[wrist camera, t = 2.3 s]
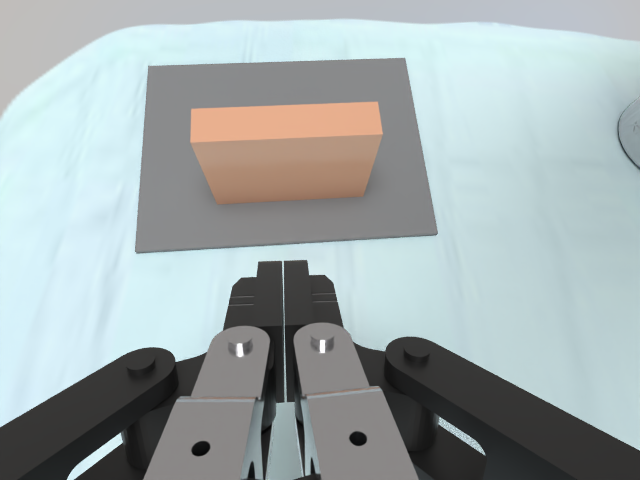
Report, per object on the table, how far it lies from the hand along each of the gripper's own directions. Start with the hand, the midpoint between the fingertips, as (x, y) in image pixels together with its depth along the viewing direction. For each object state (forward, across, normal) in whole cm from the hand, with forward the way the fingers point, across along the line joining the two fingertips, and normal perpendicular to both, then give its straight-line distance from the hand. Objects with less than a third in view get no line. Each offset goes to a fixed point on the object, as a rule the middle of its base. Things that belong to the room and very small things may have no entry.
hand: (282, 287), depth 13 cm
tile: (+23, -1, +3) cm, 23 cm away
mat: (+26, 0, 0) cm, 26 cm away
